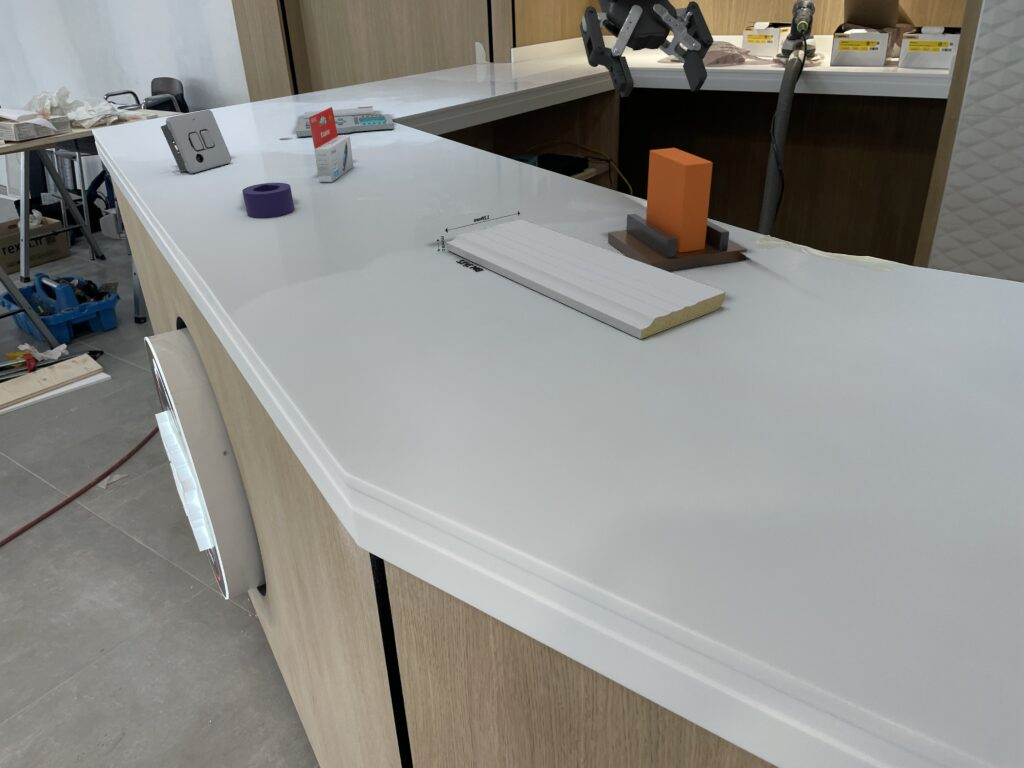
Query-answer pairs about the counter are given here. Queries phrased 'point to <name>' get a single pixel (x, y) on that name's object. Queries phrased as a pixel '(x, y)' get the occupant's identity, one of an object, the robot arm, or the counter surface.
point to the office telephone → (349, 121)
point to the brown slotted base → (673, 246)
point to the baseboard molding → (587, 276)
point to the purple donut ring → (268, 200)
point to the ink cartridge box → (330, 147)
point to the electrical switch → (196, 141)
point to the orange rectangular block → (679, 196)
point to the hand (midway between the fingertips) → (664, 89)
